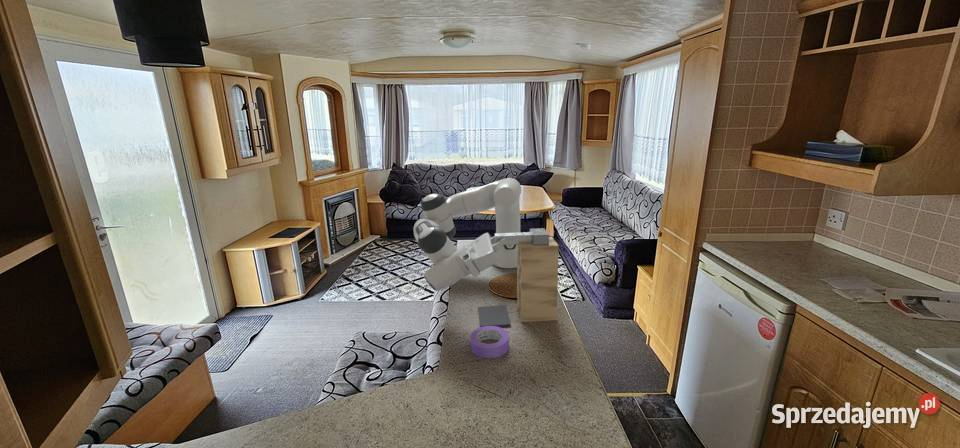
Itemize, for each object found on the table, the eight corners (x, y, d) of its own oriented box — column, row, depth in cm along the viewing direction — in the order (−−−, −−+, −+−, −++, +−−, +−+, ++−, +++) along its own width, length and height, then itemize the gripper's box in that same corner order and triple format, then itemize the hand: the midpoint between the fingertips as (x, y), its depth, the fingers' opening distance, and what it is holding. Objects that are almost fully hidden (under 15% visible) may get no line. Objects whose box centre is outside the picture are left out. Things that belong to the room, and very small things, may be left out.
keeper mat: (478, 308, 142) (478, 306, 141) (505, 307, 142) (505, 305, 142) (480, 328, 129) (480, 325, 129) (510, 326, 130) (510, 324, 129)
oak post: (517, 309, 140) (517, 238, 133) (549, 307, 141) (551, 236, 133) (521, 322, 132) (521, 247, 124) (556, 320, 133) (558, 245, 125)
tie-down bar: (494, 240, 131) (493, 230, 130) (543, 238, 132) (544, 228, 131) (496, 247, 125) (496, 236, 124) (548, 244, 126) (549, 234, 125)
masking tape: (480, 363, 112) (480, 351, 111) (464, 342, 122) (464, 331, 121) (515, 351, 117) (515, 340, 115) (497, 332, 127) (497, 322, 126)
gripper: (472, 255, 140) (505, 235, 138) (476, 279, 120) (514, 256, 119) (463, 241, 138) (496, 220, 137) (465, 263, 118) (504, 239, 117)
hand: (505, 237), depth 128 cm, fingers closed on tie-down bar, 3 cm apart
